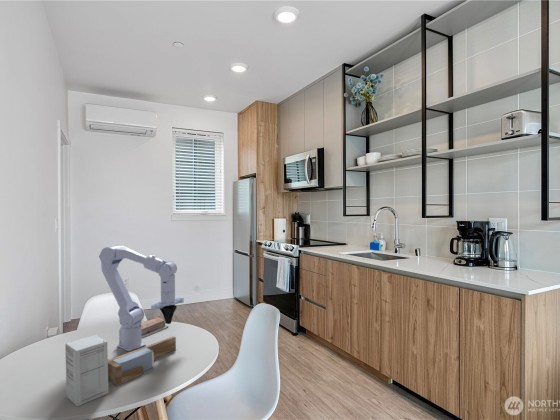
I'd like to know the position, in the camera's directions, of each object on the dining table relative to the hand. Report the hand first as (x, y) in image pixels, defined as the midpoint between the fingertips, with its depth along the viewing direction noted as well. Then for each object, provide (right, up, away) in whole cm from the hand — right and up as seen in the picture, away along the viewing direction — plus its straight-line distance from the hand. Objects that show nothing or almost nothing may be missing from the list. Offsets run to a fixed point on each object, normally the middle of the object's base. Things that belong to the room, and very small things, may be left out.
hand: (168, 323), depth 142 cm
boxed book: (-6, -11, -21) cm, 24 cm away
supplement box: (-14, -11, -36) cm, 40 cm away
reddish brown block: (-17, -11, +19) cm, 28 cm away
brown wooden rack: (-3, -10, -15) cm, 19 cm away
